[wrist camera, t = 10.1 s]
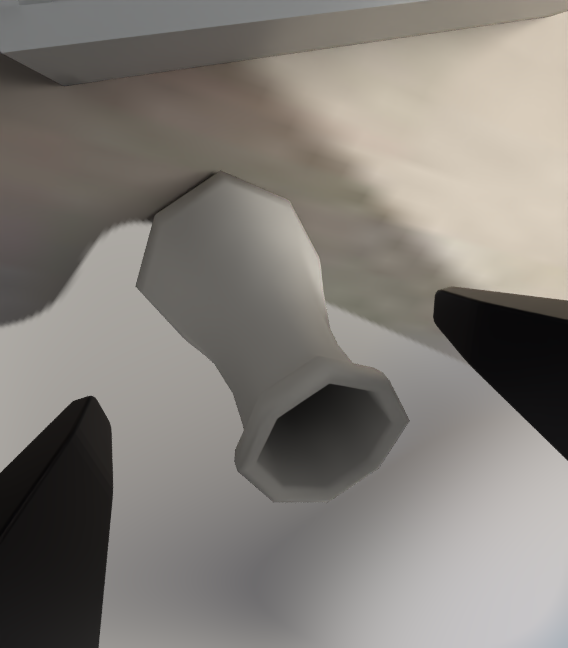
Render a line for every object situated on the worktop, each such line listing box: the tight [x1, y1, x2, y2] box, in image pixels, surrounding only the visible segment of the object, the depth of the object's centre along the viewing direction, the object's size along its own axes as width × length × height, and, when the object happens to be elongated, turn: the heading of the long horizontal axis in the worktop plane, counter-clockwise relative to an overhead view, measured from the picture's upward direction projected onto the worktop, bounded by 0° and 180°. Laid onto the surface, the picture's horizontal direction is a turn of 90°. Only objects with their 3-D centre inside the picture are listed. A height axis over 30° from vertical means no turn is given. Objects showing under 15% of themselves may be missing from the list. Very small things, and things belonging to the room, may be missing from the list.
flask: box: [136, 171, 410, 502], centre depth 11 cm, size 7×7×10 cm
